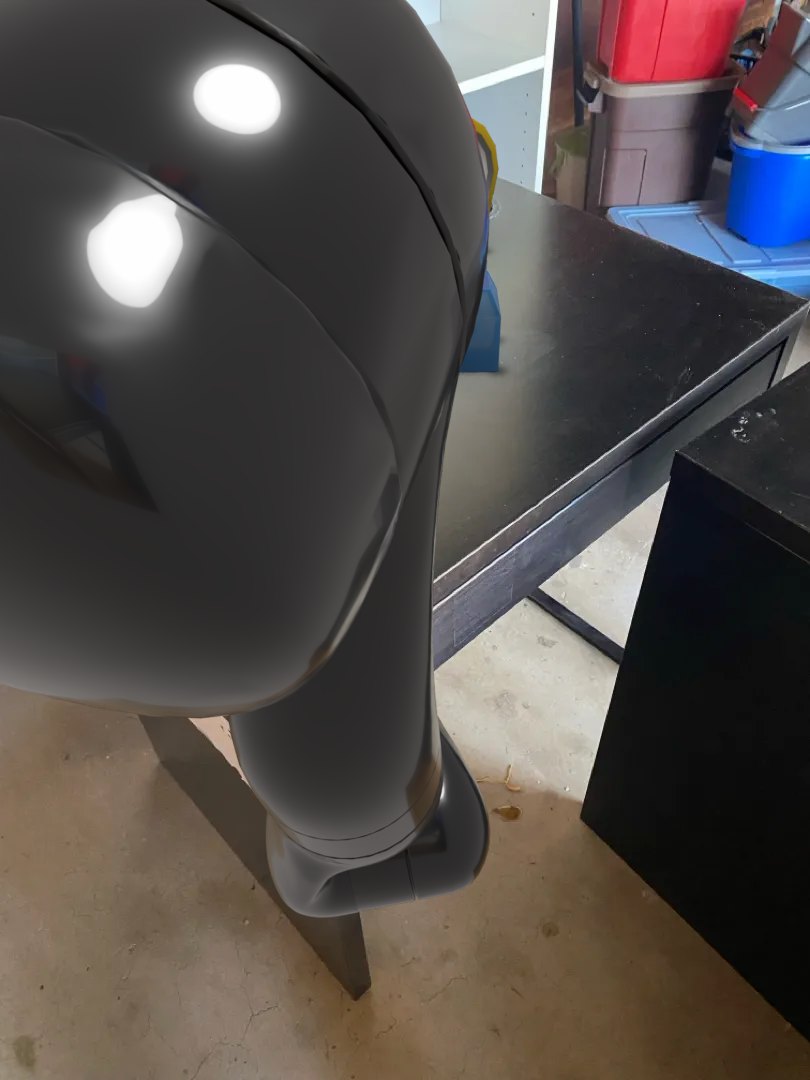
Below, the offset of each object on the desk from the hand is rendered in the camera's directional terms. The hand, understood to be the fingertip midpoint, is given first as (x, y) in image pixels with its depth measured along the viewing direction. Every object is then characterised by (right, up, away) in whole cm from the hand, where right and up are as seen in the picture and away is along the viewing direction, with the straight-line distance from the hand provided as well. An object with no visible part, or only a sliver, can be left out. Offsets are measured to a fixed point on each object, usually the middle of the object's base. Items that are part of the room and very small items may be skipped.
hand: (322, 425), depth 63 cm
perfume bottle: (+13, +11, +25) cm, 30 cm away
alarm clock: (+10, +29, +44) cm, 54 cm away
